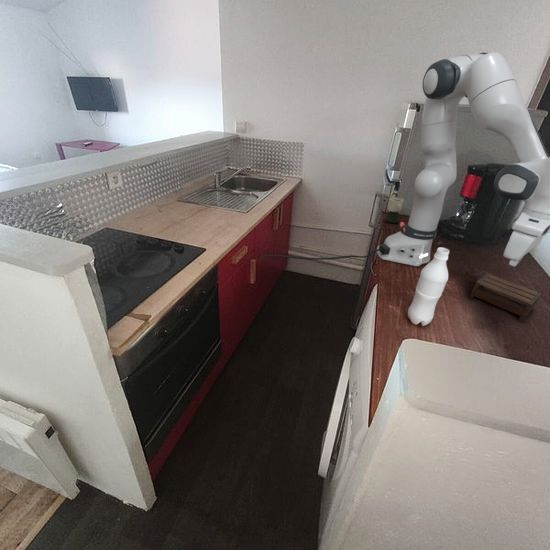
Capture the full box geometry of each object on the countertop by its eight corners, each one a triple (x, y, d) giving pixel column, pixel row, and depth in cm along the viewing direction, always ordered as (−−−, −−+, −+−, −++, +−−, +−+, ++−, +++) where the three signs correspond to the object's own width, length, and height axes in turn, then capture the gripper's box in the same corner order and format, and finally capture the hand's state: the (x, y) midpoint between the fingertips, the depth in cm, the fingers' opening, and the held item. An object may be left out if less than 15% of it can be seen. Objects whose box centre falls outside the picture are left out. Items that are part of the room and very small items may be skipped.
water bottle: (401, 313, 95) (424, 244, 82) (422, 312, 96) (448, 243, 83) (412, 328, 89) (438, 256, 76) (434, 327, 90) (464, 255, 77)
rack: (521, 321, 93) (531, 305, 90) (468, 297, 104) (475, 282, 100) (531, 309, 99) (541, 293, 95) (480, 288, 109) (487, 272, 106)
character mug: (401, 225, 160) (407, 202, 153) (388, 225, 160) (394, 202, 153) (393, 218, 169) (399, 196, 163) (381, 218, 169) (386, 196, 162)
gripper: (535, 209, 87) (513, 250, 94) (511, 224, 76) (488, 269, 83) (562, 216, 83) (536, 258, 90) (541, 232, 71) (514, 279, 79)
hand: (513, 264), depth 86 cm, fingers closed
